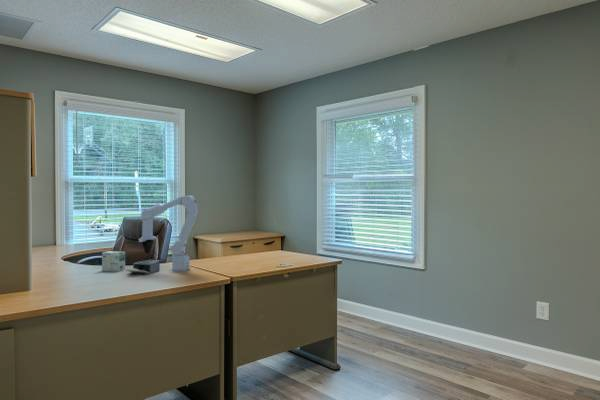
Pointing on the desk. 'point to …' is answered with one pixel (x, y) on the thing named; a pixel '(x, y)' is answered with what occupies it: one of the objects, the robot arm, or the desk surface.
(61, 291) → the desk surface
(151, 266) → the carton
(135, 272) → the carton flap
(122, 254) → the light bulb box
